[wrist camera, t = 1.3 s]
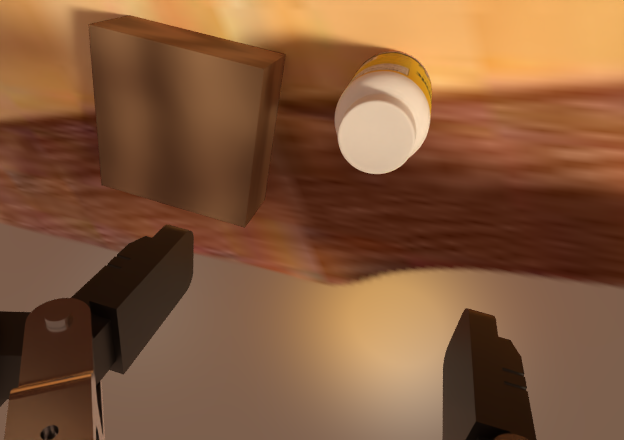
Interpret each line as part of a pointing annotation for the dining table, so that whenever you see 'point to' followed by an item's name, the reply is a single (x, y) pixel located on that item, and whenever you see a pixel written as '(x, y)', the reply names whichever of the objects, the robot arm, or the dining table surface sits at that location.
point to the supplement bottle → (384, 112)
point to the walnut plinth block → (184, 116)
